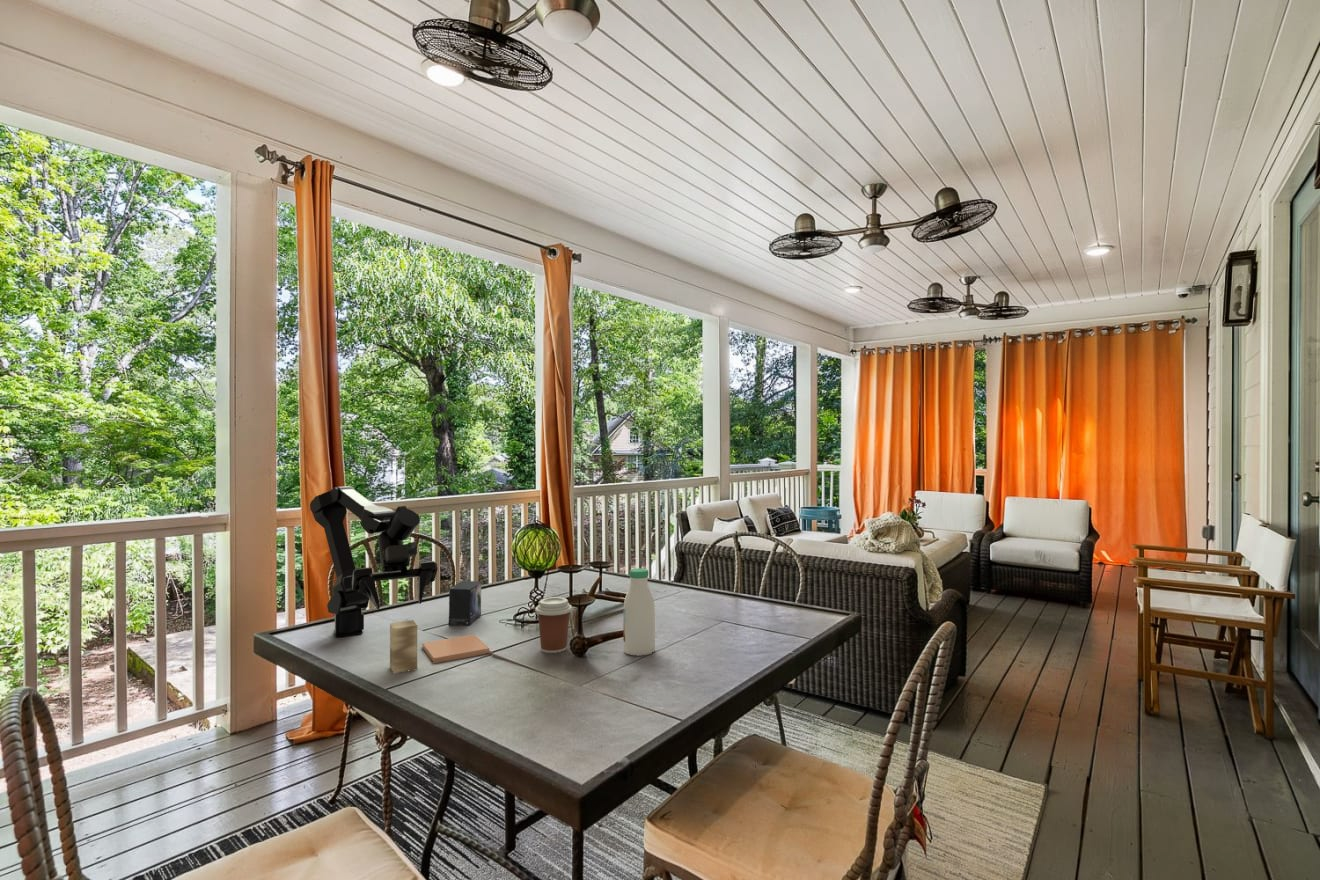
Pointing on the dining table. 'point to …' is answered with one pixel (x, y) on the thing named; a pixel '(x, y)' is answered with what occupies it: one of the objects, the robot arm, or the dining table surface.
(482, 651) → the terracotta tile
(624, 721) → the dining table surface
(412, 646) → the maple block
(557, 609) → the coffee cup
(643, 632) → the milk bottle
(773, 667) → the dining table surface
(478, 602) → the small box
